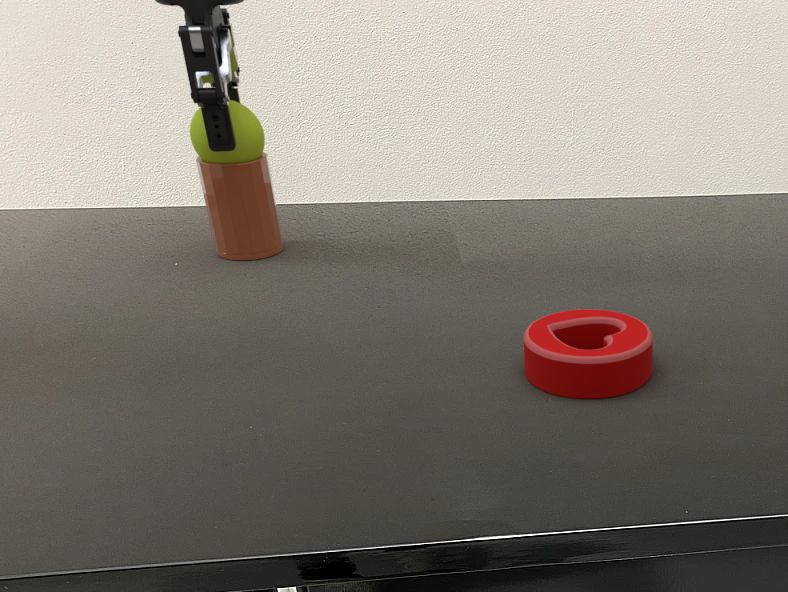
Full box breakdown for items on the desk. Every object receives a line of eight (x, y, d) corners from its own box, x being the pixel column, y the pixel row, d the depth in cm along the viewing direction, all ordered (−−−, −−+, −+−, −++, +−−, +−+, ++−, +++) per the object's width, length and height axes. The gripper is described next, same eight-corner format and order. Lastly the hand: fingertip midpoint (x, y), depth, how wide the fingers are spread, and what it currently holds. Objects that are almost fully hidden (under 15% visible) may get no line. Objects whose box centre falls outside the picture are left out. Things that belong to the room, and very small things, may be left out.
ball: (194, 182, 88) (177, 108, 84) (203, 164, 93) (187, 94, 90) (268, 178, 89) (254, 105, 86) (272, 160, 94) (259, 91, 91)
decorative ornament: (527, 345, 77) (525, 308, 75) (647, 344, 77) (648, 306, 76) (522, 399, 69) (520, 359, 67) (656, 397, 69) (657, 357, 68)
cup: (213, 262, 92) (192, 166, 87) (220, 242, 97) (200, 150, 92) (281, 258, 93) (264, 163, 88) (285, 238, 98) (268, 147, 94)
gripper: (154, -65, 86) (195, 125, 95) (124, -56, 74) (173, 159, 83) (243, -64, 88) (275, 122, 96) (227, -55, 76) (265, 156, 84)
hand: (228, 139), depth 90 cm, fingers open, 8 cm apart
